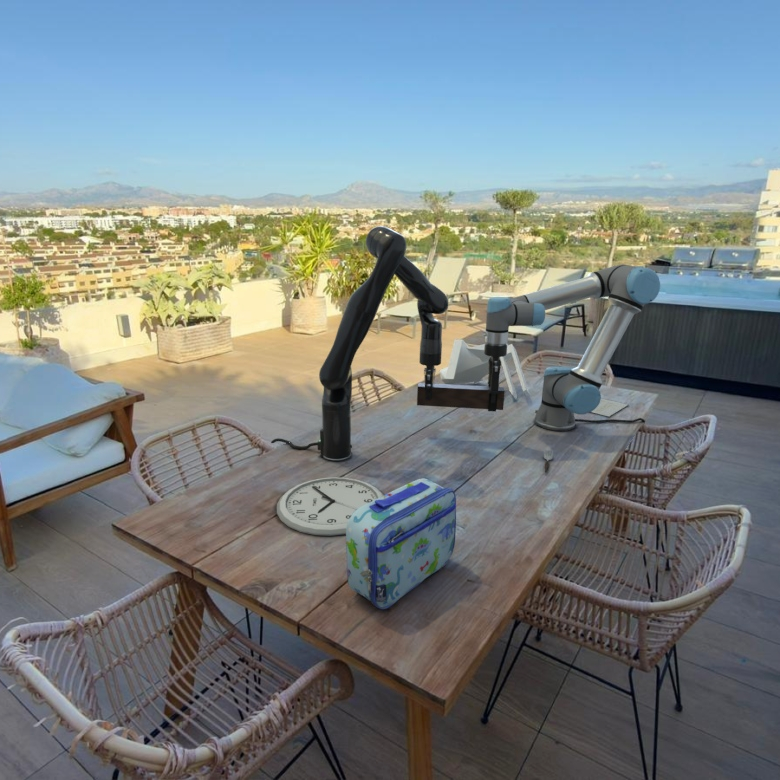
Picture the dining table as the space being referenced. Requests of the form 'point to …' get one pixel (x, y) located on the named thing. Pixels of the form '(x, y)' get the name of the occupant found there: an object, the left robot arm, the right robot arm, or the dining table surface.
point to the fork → (547, 459)
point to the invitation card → (608, 407)
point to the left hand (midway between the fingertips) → (428, 397)
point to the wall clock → (324, 504)
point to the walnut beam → (459, 396)
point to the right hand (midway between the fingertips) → (491, 408)
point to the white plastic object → (478, 366)
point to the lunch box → (400, 540)
